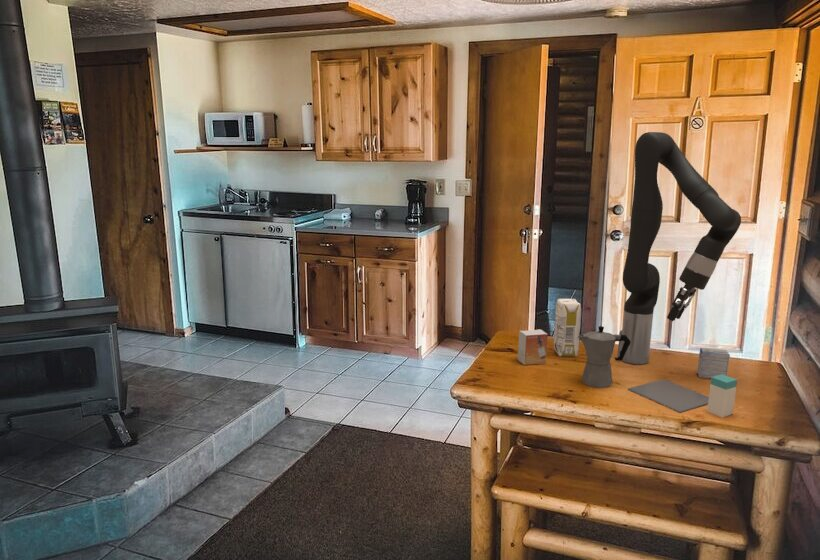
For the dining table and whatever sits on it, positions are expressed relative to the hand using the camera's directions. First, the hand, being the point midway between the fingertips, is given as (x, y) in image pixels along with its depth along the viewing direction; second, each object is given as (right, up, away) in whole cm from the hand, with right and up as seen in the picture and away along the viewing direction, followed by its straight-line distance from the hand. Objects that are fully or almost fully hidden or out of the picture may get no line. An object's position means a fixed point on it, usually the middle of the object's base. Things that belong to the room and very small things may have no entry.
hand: (673, 318), depth 183 cm
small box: (-39, -16, +20) cm, 46 cm away
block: (+5, -25, -18) cm, 31 cm away
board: (-4, -22, -7) cm, 23 cm away
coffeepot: (-21, -20, +2) cm, 29 cm away
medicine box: (+16, -19, +8) cm, 26 cm away
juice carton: (-26, -14, +28) cm, 40 cm away
